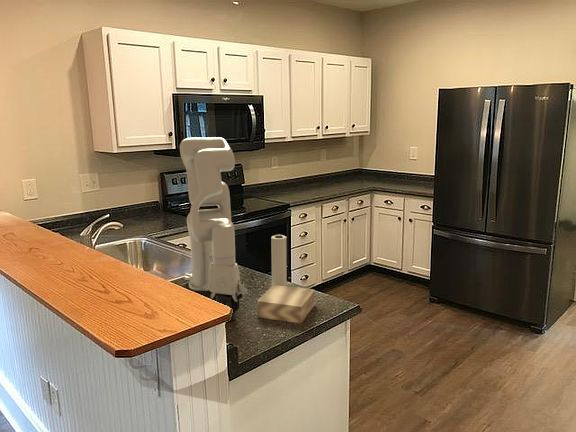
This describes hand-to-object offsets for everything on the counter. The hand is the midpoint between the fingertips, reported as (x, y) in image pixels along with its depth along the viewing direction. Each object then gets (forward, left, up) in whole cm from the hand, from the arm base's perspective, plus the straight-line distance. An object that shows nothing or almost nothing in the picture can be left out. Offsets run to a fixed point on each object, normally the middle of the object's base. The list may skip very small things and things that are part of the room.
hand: (225, 309), depth 159 cm
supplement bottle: (0, 0, -4) cm, 4 cm away
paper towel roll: (+8, +33, -4) cm, 34 cm away
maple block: (+18, +12, -3) cm, 22 cm away
